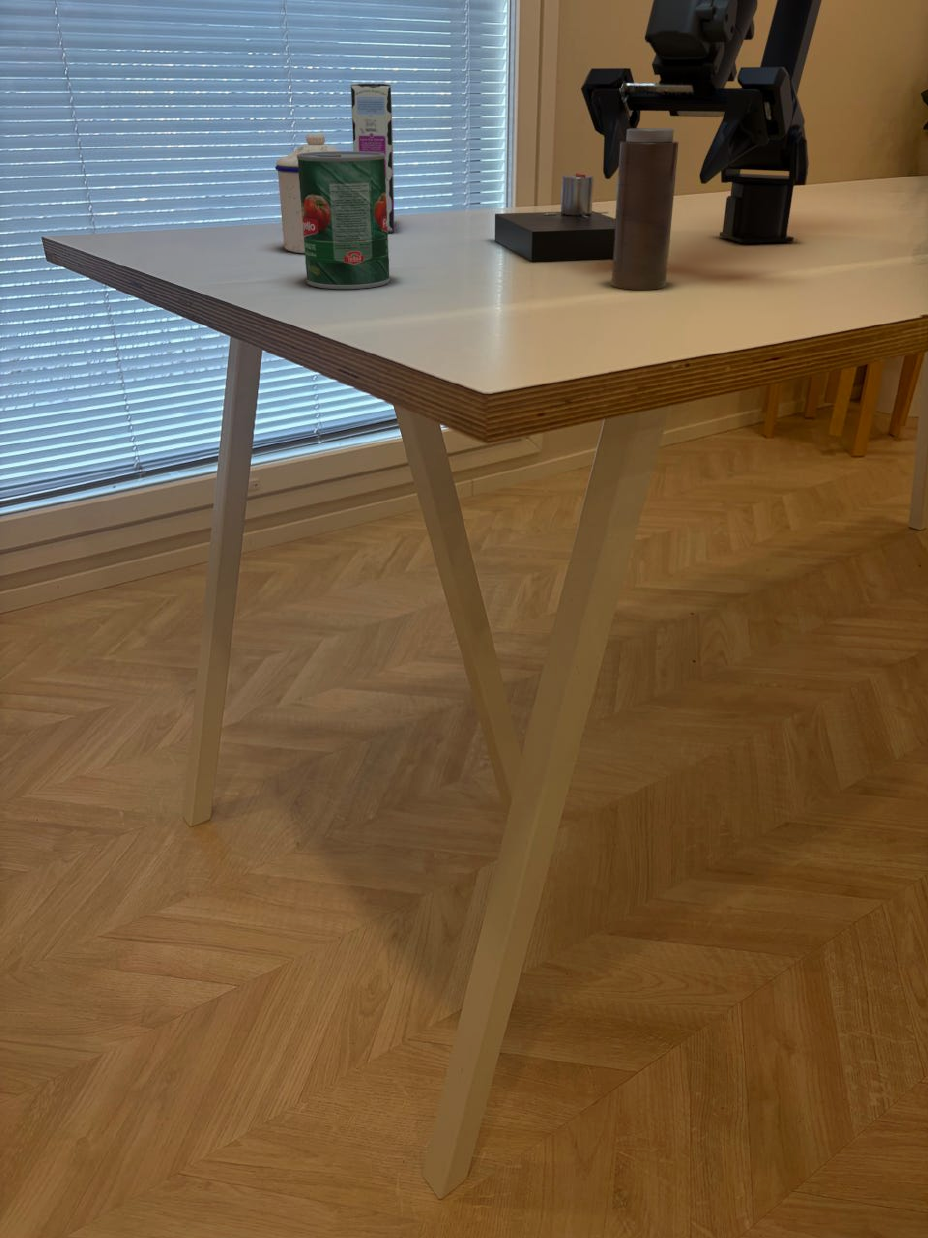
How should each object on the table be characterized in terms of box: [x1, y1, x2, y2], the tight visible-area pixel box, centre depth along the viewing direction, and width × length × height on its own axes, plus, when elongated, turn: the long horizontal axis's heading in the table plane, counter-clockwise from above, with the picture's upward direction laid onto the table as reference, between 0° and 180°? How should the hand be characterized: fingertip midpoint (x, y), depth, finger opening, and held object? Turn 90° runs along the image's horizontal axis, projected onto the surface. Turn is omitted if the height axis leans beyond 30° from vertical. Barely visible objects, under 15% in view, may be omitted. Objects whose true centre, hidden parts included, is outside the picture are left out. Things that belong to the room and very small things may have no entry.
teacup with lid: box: [274, 133, 340, 254], centre depth 111 cm, size 12×9×12 cm
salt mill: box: [610, 127, 679, 291], centre depth 89 cm, size 5×5×13 cm
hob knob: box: [560, 172, 595, 216], centre depth 114 cm, size 4×4×4 cm
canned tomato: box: [297, 150, 391, 290], centre depth 91 cm, size 8×8×11 cm
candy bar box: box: [349, 83, 395, 233], centre depth 124 cm, size 11×5×16 cm, turn 5°
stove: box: [494, 210, 615, 263], centre depth 111 cm, size 13×17×3 cm
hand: (652, 177), depth 89 cm, fingers open, 9 cm apart
